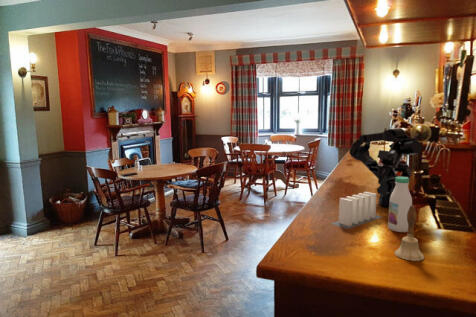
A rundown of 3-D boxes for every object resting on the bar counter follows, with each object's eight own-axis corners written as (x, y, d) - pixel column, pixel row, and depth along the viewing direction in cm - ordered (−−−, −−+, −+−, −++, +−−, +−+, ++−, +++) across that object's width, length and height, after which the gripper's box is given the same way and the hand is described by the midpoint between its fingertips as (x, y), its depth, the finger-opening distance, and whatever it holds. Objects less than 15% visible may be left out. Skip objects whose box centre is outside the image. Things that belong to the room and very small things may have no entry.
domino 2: (347, 220, 142) (348, 196, 141) (358, 223, 138) (359, 198, 137) (344, 220, 141) (345, 196, 140) (355, 224, 137) (356, 199, 136)
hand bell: (389, 250, 113) (392, 202, 111) (414, 249, 114) (417, 202, 112) (403, 262, 105) (407, 210, 103) (430, 260, 106) (434, 209, 103)
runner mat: (366, 213, 153) (366, 212, 153) (383, 217, 146) (383, 216, 146) (330, 224, 138) (330, 223, 138) (347, 230, 132) (347, 229, 132)
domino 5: (364, 214, 149) (365, 191, 148) (375, 217, 145) (376, 193, 144) (362, 215, 148) (363, 192, 147) (373, 218, 145) (374, 194, 143)
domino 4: (359, 216, 147) (360, 193, 146) (369, 219, 143) (371, 195, 142) (356, 217, 146) (357, 193, 145) (367, 220, 142) (368, 196, 141)
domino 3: (353, 218, 145) (354, 194, 143) (364, 221, 141) (365, 197, 139) (351, 218, 144) (352, 195, 142) (361, 222, 140) (363, 197, 138)
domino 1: (341, 222, 140) (342, 197, 138) (351, 225, 136) (353, 200, 134) (338, 222, 139) (339, 198, 138) (349, 226, 135) (350, 201, 134)
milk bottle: (408, 227, 135) (412, 176, 132) (411, 234, 127) (415, 180, 124) (387, 225, 137) (390, 175, 134) (388, 231, 130) (391, 179, 127)
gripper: (368, 141, 157) (352, 168, 152) (410, 145, 142) (393, 175, 137) (377, 157, 163) (362, 183, 158) (418, 162, 148) (403, 191, 143)
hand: (379, 183), depth 149 cm, fingers closed
